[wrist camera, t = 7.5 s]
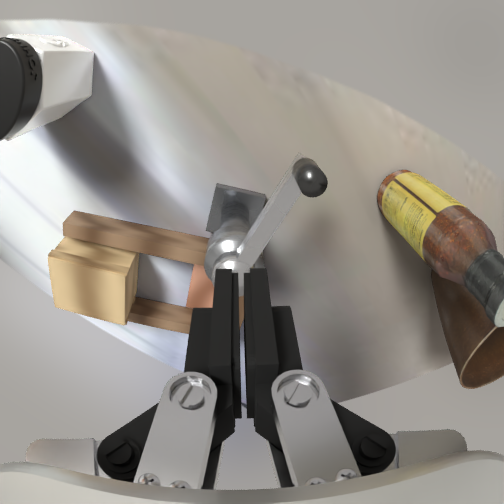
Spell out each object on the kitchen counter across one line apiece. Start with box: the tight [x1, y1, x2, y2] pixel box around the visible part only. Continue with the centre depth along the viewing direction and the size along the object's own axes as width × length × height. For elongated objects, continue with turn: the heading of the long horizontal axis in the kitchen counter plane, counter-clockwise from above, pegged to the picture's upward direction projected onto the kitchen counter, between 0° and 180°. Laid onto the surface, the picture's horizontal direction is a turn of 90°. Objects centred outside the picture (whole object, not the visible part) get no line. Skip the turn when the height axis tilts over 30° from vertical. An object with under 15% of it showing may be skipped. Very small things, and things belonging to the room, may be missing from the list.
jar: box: [0, 34, 94, 141], centre depth 19 cm, size 9×8×12 cm
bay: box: [63, 211, 244, 334], centre depth 35 cm, size 22×12×4 cm, turn 75°
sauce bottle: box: [377, 170, 504, 327], centre depth 24 cm, size 7×6×20 cm
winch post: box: [204, 183, 266, 282], centre depth 29 cm, size 5×5×10 cm
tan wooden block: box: [48, 236, 139, 325], centre depth 33 cm, size 9×7×6 cm
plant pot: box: [432, 269, 504, 389], centre depth 32 cm, size 15×15×16 cm
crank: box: [212, 153, 328, 297], centre depth 21 cm, size 12×3×4 cm, turn 151°
